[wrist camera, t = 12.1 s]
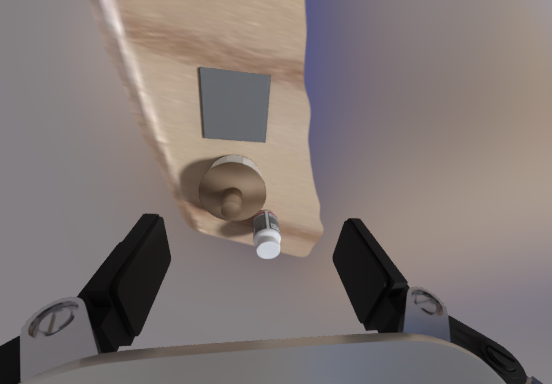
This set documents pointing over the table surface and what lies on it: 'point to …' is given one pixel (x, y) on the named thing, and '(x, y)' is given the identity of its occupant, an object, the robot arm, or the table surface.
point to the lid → (232, 191)
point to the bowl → (237, 159)
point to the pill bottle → (266, 234)
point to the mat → (234, 104)
